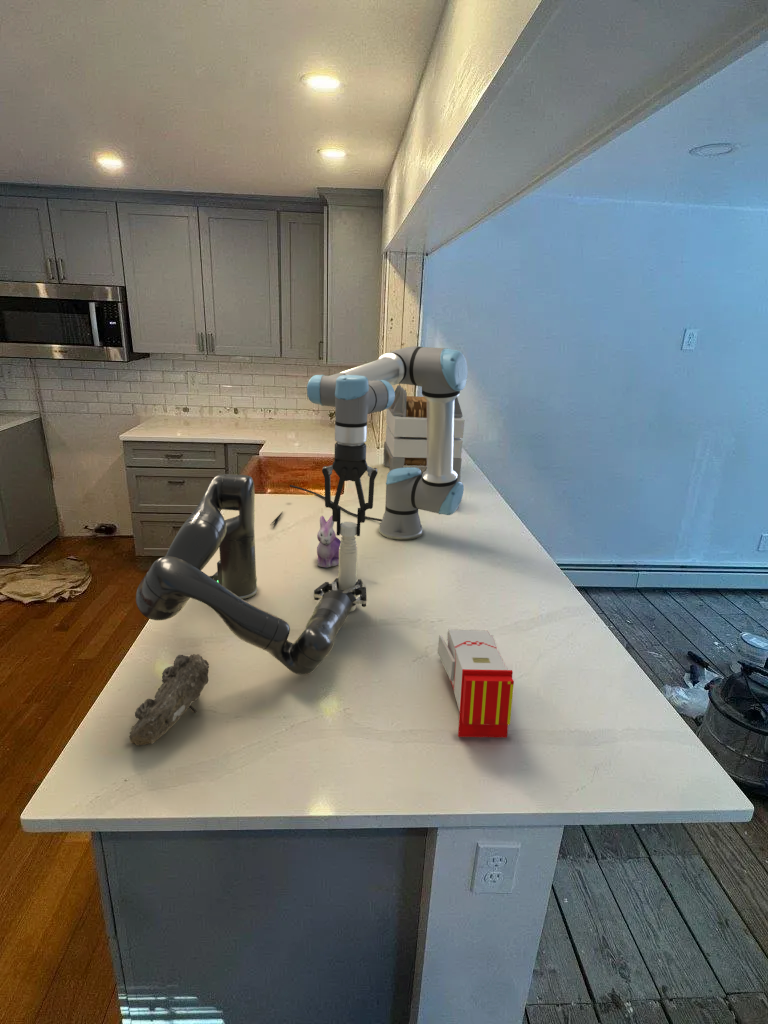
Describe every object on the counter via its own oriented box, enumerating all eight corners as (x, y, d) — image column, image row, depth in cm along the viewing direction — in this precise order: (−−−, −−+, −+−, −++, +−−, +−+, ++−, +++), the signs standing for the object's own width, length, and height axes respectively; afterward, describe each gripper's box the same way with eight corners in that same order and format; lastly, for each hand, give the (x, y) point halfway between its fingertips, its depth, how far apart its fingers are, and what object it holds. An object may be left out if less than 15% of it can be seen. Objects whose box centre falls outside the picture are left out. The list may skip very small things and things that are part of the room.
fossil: (160, 655, 118) (210, 623, 113) (193, 685, 121) (243, 655, 116) (104, 739, 99) (161, 705, 94) (145, 772, 102) (202, 741, 97)
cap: (353, 538, 140) (353, 529, 139) (336, 535, 141) (336, 526, 140) (359, 531, 144) (360, 523, 143) (343, 529, 145) (343, 520, 144)
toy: (488, 613, 130) (523, 677, 101) (484, 667, 133) (517, 744, 104) (435, 612, 130) (455, 676, 101) (432, 666, 133) (451, 743, 103)
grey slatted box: (382, 463, 289) (386, 382, 275) (445, 464, 293) (451, 384, 279) (390, 482, 257) (394, 392, 243) (460, 483, 261) (468, 394, 247)
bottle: (342, 602, 152) (343, 522, 144) (358, 605, 151) (360, 525, 143) (335, 610, 148) (336, 528, 140) (351, 613, 147) (353, 531, 139)
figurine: (321, 571, 169) (321, 524, 164) (309, 557, 177) (309, 512, 172) (350, 565, 173) (351, 520, 168) (337, 553, 182) (338, 509, 177)
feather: (289, 506, 225) (292, 502, 225) (272, 529, 199) (275, 525, 198) (286, 503, 225) (288, 500, 225) (268, 527, 199) (271, 522, 198)
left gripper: (302, 622, 137) (324, 590, 152) (360, 630, 134) (375, 597, 150) (302, 594, 134) (324, 564, 150) (361, 602, 131) (377, 571, 147)
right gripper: (386, 440, 138) (382, 529, 146) (315, 437, 138) (315, 527, 146) (387, 447, 131) (383, 540, 139) (312, 444, 131) (312, 538, 139)
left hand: (350, 581), depth 150 cm, fingers closed on bottle, 4 cm apart
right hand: (348, 533), depth 142 cm, fingers closed on cap, 4 cm apart
